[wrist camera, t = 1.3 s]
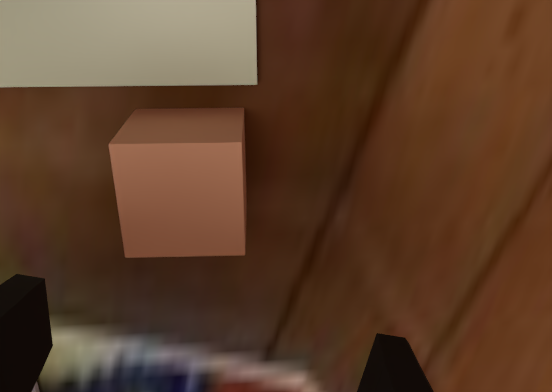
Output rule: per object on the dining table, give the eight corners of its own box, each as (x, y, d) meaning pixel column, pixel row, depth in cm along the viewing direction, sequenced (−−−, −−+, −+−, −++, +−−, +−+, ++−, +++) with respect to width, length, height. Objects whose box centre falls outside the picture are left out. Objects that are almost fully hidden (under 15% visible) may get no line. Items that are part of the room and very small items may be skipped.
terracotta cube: (147, 204, 21) (125, 257, 17) (136, 108, 19) (108, 144, 16) (246, 203, 21) (245, 255, 17) (243, 106, 19) (241, 142, 16)
